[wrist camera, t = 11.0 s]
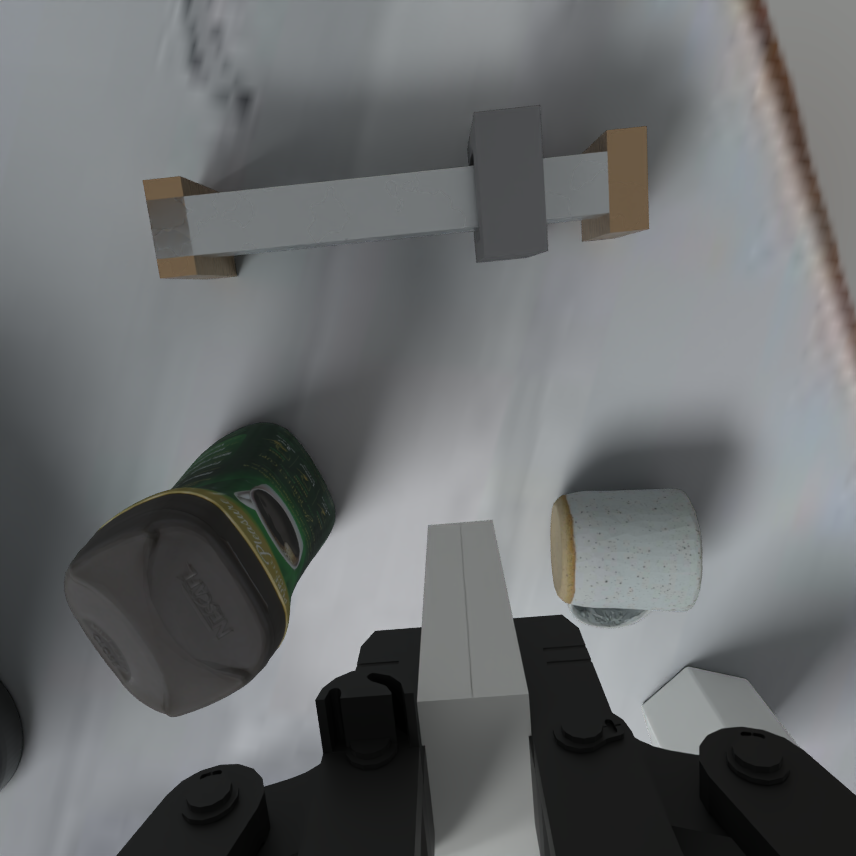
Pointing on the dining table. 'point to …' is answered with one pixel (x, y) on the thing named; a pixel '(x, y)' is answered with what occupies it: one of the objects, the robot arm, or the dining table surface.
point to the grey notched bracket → (508, 183)
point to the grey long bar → (385, 208)
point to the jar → (705, 710)
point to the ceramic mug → (625, 554)
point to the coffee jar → (203, 571)
